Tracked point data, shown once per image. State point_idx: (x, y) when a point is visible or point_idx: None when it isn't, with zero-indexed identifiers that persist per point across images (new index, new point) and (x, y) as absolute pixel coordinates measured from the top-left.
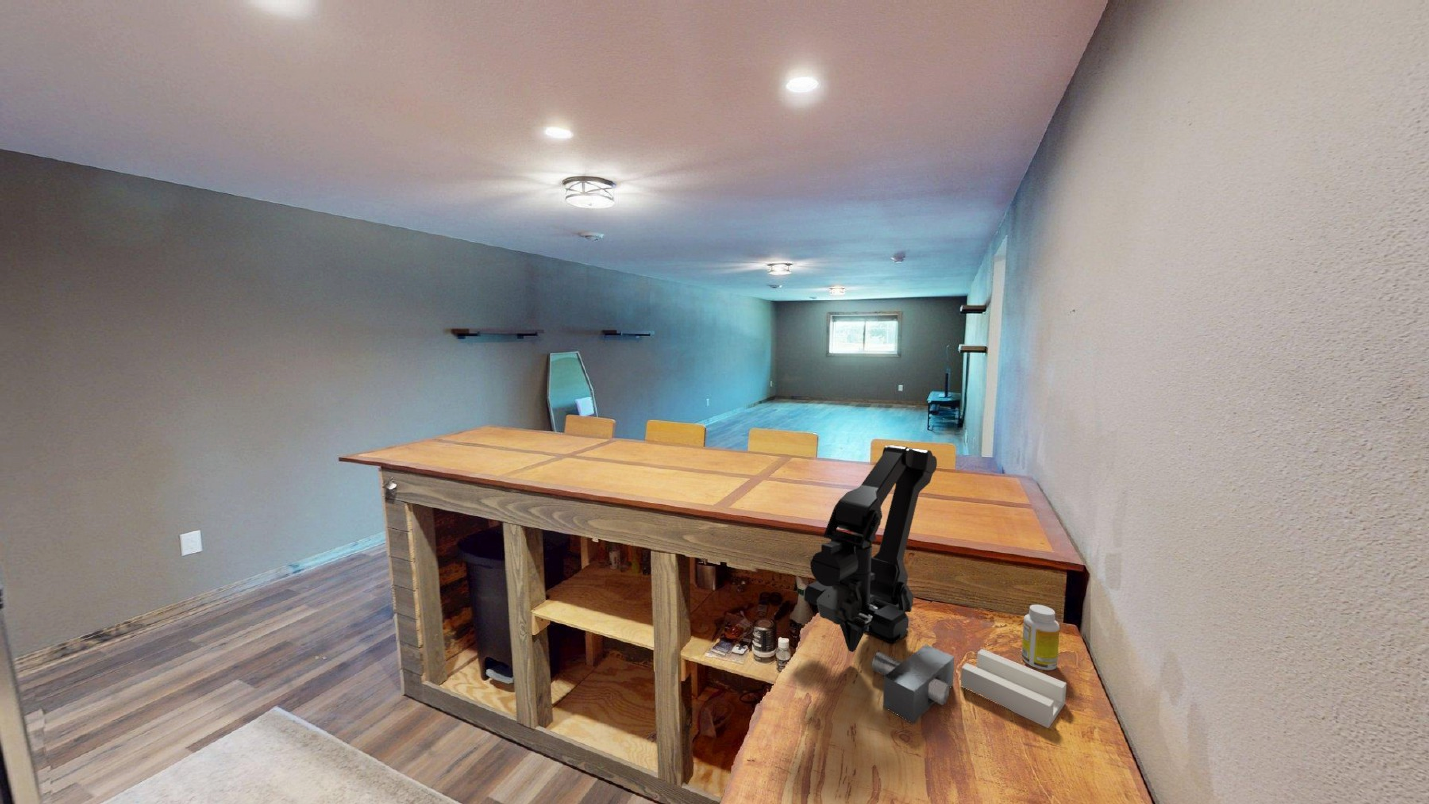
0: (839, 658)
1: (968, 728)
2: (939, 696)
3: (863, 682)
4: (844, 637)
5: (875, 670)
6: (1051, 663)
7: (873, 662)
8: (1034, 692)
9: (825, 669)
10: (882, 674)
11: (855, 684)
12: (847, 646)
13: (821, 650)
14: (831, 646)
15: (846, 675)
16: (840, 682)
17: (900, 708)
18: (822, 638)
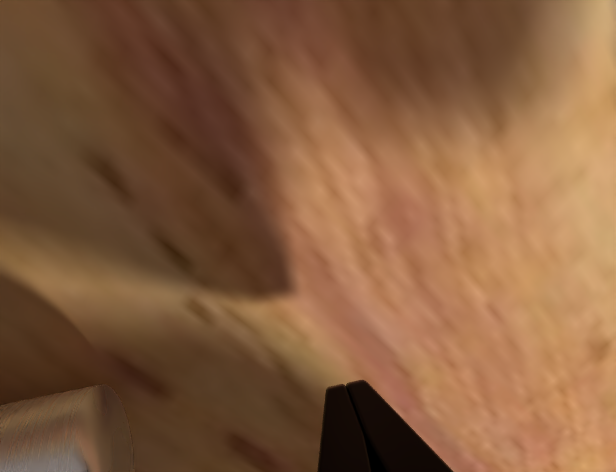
0: (401, 285)
1: None
2: None
3: (63, 235)
4: (446, 469)
5: (71, 390)
6: None
7: (60, 444)
8: None
9: (389, 88)
10: (18, 401)
11: (65, 156)
12: (380, 403)
13: (546, 245)
14: (513, 325)
15: (216, 184)
16: (158, 51)
17: None
18: (597, 331)
